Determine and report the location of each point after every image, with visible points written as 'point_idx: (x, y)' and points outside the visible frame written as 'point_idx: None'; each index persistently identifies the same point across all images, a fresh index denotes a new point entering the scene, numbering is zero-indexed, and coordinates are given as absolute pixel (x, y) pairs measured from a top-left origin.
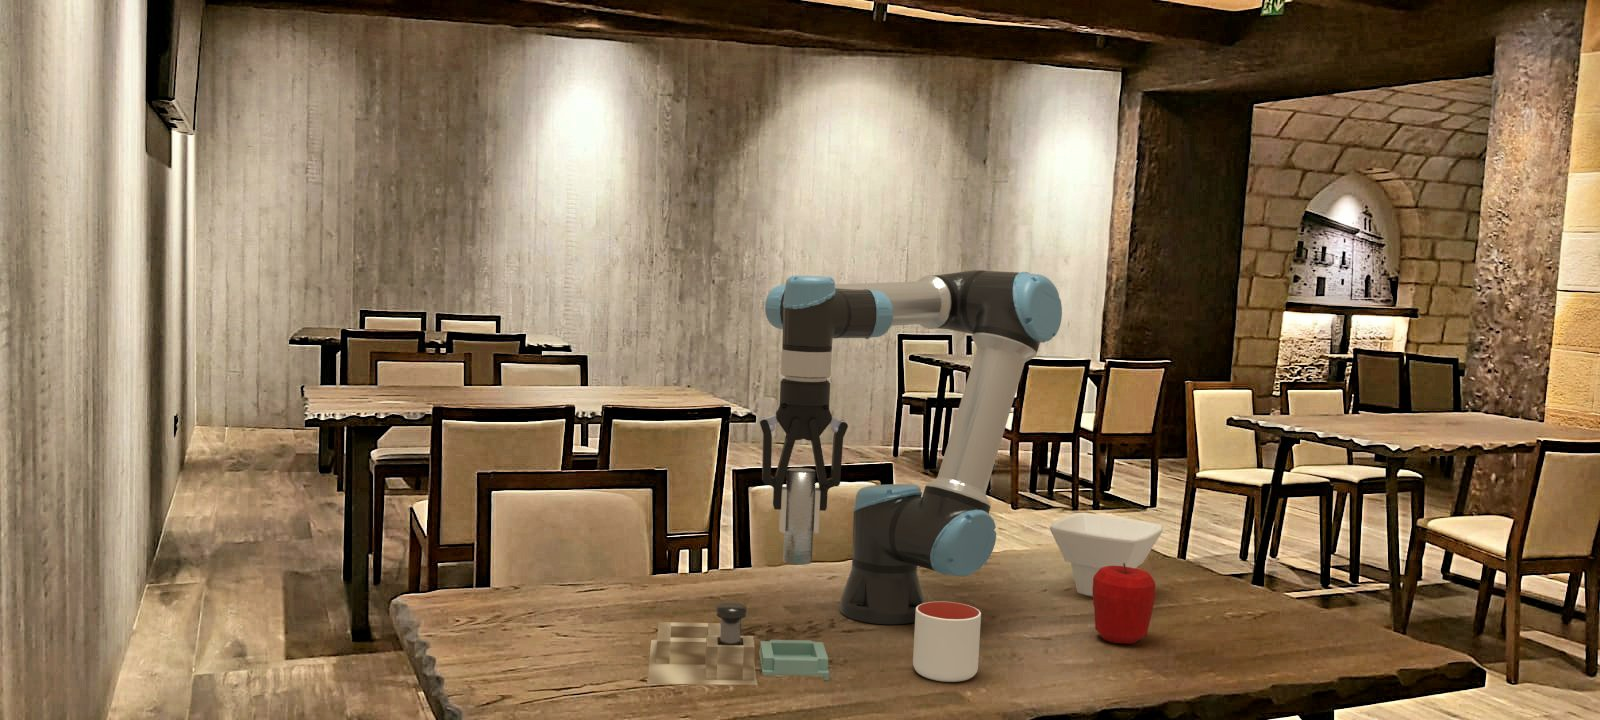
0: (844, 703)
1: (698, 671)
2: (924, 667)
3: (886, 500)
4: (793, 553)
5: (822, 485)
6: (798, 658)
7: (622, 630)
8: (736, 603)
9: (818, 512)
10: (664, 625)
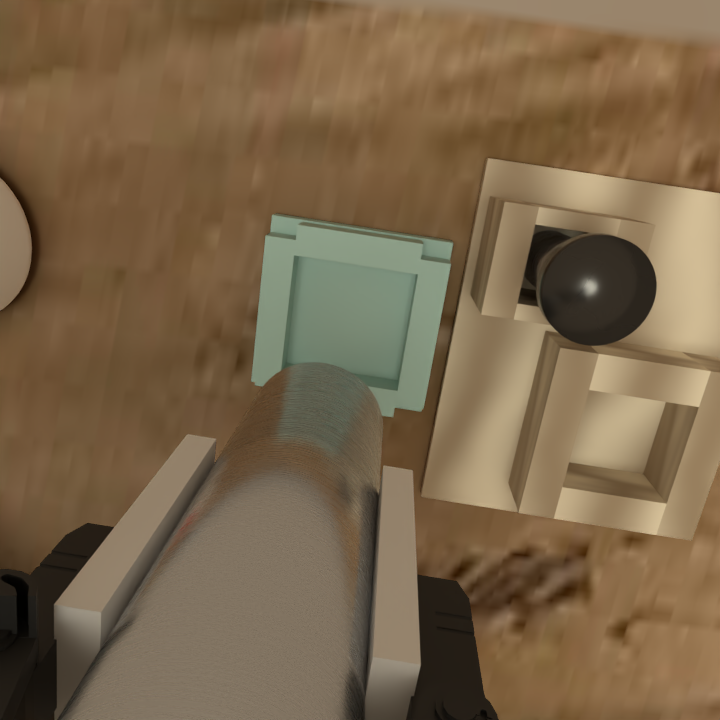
0: (271, 25)
1: None
2: (1, 190)
3: None
4: (345, 388)
5: (4, 645)
6: (350, 249)
7: (710, 636)
8: (566, 336)
9: (144, 497)
10: (683, 511)
